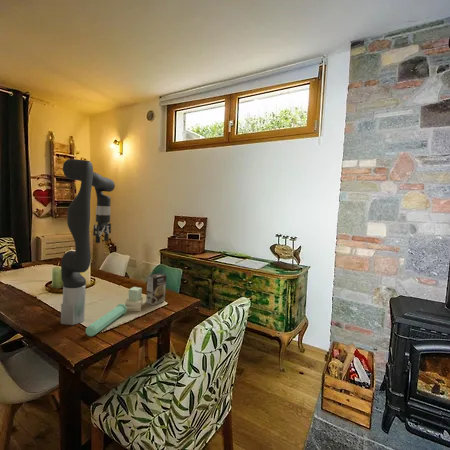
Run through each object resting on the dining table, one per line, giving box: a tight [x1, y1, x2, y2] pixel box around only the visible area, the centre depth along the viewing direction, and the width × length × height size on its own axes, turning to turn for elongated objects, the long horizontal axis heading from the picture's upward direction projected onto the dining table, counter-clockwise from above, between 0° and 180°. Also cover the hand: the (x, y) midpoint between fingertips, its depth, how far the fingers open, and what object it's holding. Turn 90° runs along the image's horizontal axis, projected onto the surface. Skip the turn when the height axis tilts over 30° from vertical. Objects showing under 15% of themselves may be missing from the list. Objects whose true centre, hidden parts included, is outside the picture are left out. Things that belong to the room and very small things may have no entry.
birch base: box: [124, 296, 144, 312], centre depth 146 cm, size 8×8×5 cm
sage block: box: [127, 286, 143, 302], centre depth 146 cm, size 5×5×6 cm
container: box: [85, 303, 128, 337], centre depth 125 cm, size 6×6×25 cm
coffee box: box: [145, 273, 167, 306], centre depth 156 cm, size 9×6×16 cm
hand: (102, 241), depth 154 cm, fingers open, 8 cm apart
